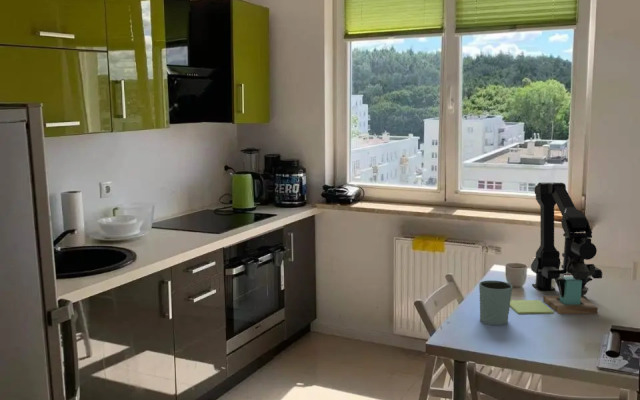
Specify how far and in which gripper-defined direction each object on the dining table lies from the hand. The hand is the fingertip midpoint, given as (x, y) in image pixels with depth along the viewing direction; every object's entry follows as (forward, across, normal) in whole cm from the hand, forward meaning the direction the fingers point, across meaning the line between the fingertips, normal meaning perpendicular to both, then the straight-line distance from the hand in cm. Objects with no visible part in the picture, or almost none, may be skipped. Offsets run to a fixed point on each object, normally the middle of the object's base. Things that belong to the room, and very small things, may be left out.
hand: (570, 297), depth 215 cm
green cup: (+4, -30, -12) cm, 33 cm away
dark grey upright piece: (+4, +8, +10) cm, 13 cm away
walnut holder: (+4, 0, 0) cm, 4 cm away
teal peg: (+4, 0, 0) cm, 4 cm away
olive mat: (+4, -14, 0) cm, 14 cm away
